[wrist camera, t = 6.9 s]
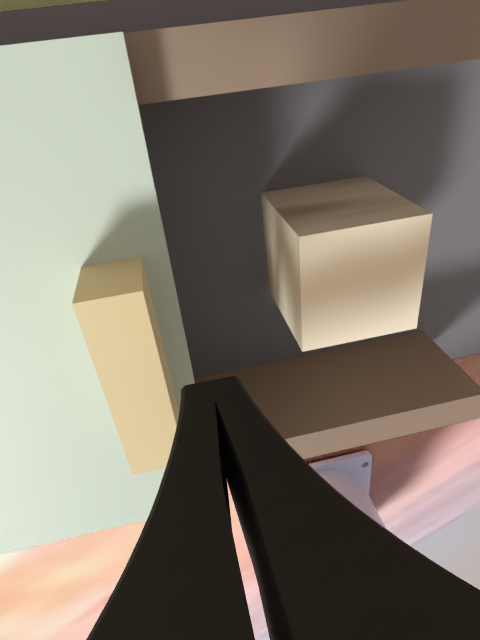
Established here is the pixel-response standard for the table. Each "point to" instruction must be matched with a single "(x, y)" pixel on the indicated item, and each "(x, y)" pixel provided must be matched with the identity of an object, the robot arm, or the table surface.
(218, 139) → the board
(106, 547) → the table surface
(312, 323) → the block
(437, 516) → the table surface
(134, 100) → the lid
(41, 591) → the table surface
